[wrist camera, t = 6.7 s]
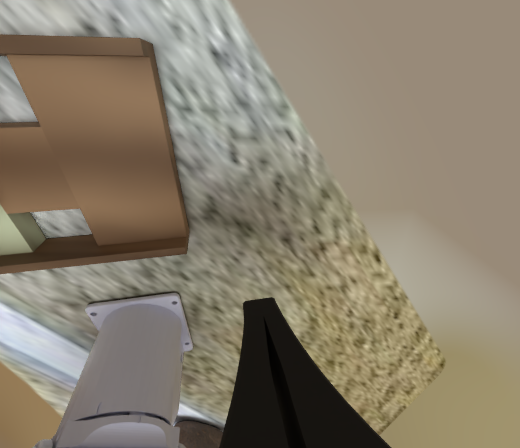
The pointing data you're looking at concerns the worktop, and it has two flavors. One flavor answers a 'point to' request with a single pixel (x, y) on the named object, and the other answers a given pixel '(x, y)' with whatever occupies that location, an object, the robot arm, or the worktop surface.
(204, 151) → the worktop surface
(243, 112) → the worktop surface
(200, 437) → the perforated stone tool
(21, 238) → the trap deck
